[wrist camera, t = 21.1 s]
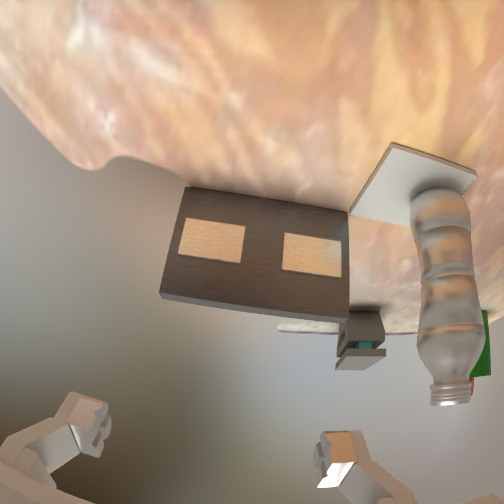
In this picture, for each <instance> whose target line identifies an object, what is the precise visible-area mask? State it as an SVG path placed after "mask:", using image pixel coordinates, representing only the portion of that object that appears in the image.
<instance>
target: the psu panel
mask: <svg viewBox="0 0 504 504" xmlns="http://www.w3.org/2000/svg"><path fill="white" fill-rule="evenodd" d="M159 293H160V295H161V297H162V299H167V300H172V301H178V302H184V303H190V304H196V305H202V306H209V307H215V308H222V309H229V310H236V311H243V312H250V313H257V314H264V315H272V316H281V317H288V318H297V319H305V320H314V321H324V322H333V323H343V322H345V321H346V320H348V319H349V232H348V213H346V212H341V211H336V210H331V209H325V208H320V207H314V206H309V205H303V204H297V203H291V202H285V201H279V200H273V199H267V198H261V197H254V196H248V195H241V194H234V193H228V192H221V191H213V190H206V189H199V188H191V187H185V190H184V194H183V197H182V201H181V205H180V209H179V212H178V216H177V220H176V223H175V227H174V232H173V236H172V239H171V243H170V247H169V251H168V255H167V260H166V264H165V268H164V272H163V277H162V281H161V286H160V290H159Z"/></svg>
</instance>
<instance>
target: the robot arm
mask: <svg viewBox="0 0 504 504" xmlns="http://www.w3.org/2000/svg"><path fill="white" fill-rule="evenodd" d="M108 409H109V408H108V404H107V403H106V402H103V401H100V400H97V399H94V398H91V397H87V396H84V395H81V394H78V393H75V392H71V393H69V394H68V396H67V398H66V399H65V401H64V402H63V404H62V406H61V407H60V409H59V410H58V412H57V414H56V415H55V417H54V418H51V417H50V418H48V419H46V420H44V421H42V422H40V423H37V424H35V425H33V426H31V427H28V428H26V429H24V430H22V431H20V432H17V433H15V434H13V435H11V436H8V437H7V438H6V440H5V441H4V443H3V444H2V446H1V448H0V504H94V503H90V502H88V501H85V500H82V499H80V498H77V497H74V496H72V495H69V494H66V493H64V492H62V491H59V490H57V489H56V484H55V482H54V481H53V479H52V478H51V476H50V473H51V472H53V471H54V470H56V469H57V468H59V467H60V466H62V465H63V464H64V463H66V462H68V461H69V460H70V459H72V458H73V457H75V456H76V455H78V454H79V452H82V453H85V454H88V455H92V456H95V457H98V458H99V457H100V455H101V452H102V450H103V447H104V443H103V440H104V439H106V438H108V436H109V433H110V429H111V417H110V415H109V414H108V413H107V411H108ZM320 440H321V441H320V442H319V443H317V444H316V447H315V450H314V465H315V466H316V467H317V468H318V471H317V472H316V479H317V486H318V487H338V488H339V489H340V490H341V491H342V493H343V494H344V495H345V496H346V497H347V498H348V499H349V500H350V502H351V503H352V504H417V501H416V498H415V495H414V493H413V491H411V490H410V489H409V488H408V487H406V486H405V485H404V484H402V483H401V482H400V481H399V480H397V479H396V478H395V477H393V476H392V475H391V474H390V473H389V472H387V471H386V470H385V469H383V467H381V466H380V465H379V464H378V463H377V462H375V461H371V458H370V455H369V452H368V449H367V446H366V442H365V439H364V436H363V433H362V432H361V431H324V432H322V434H321V436H320ZM461 504H504V499H502V498H500V497H498V496H496V495H494V494H491V493H489V494H485V495H482V496H479V497H477V498H474V499H472V500H469V501H466V502H464V503H461Z"/></svg>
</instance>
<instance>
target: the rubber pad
mask: <svg viewBox="0 0 504 504" xmlns="http://www.w3.org/2000/svg"><path fill="white" fill-rule="evenodd" d="M476 178H477V174H476V172H475V171H472V170H470V169H467V168H465V167H462V166H459V165H457V164H454V163H451V162H449V161H446V160H443V159H440V158H437V157H434V156H432V155H429V154H426V153H423V152H420V151H416V150H413V149H410V148H407V147H404V146H400V145H397V144H394V143H391V145H390V146H389V148H388V150H387V151H386V153H385V155H384V156H383V158H382V159H381V161H380V163H379V164H378V166H377V168H376V169H375V171H374V172H373V174H372V176H371V177H370V179H369V180H368V182H367V184H366V185H365V187H364V188H363V190H362V191H361V193H360V195H359V196H358V198H357V199H356V201H355V202H354V204H353V205H352V207H351V208H350V210H349V215H352V216H358V217H363V218H368V219H373V220H378V221H382V222H387V223H392V224H397V225H401V226H406V227H411V226H410V207H411V204H412V203H413V201H414V199H415V198H416V196H417V195H418V194H420V193H421V192H423V191H425V190H427V189H430V188H435V187H447V188H451V189H453V190H455V191H456V192H458V193H459V194H461V193H462V192H463V191H464V190H465V189H466V188H467V187H468V186H469V185H470V184H471V183H472V182H473V181H474V180H475V179H476Z"/></svg>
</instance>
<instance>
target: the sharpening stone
mask: <svg viewBox="0 0 504 504" xmlns="http://www.w3.org/2000/svg"><path fill="white" fill-rule="evenodd" d="M384 341H385V330H384V326H383V323H382V320H381V317H380V314H379V313H361V312H349V319H348V320H346V321H345V322H343V323H340V328H339V336H338V345H337V357H341V358H340V359H339V361H338V362H337V363H336V368H335V369H336V370H365V369H367V368H368V367H370V366H371V365H373V364H375V363H376V362H378V361H379V360H381V359H383V358H384V357H386V349H376V348H377V347H378V346H380V345H381V344H382V343H383V342H384Z"/></svg>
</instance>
